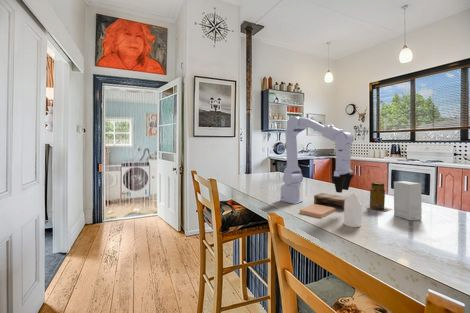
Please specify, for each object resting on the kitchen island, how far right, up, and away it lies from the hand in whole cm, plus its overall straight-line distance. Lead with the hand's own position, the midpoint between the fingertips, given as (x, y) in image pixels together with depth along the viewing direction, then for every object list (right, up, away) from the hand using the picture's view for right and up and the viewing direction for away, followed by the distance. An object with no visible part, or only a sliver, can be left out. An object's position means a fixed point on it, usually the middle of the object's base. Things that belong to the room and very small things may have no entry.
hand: (342, 191), depth 107 cm
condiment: (+21, -10, +8) cm, 24 cm away
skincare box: (+25, -11, -5) cm, 27 cm away
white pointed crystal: (-2, -11, -14) cm, 18 cm away
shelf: (+1, -9, +14) cm, 17 cm away
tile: (-10, -10, +3) cm, 15 cm away
